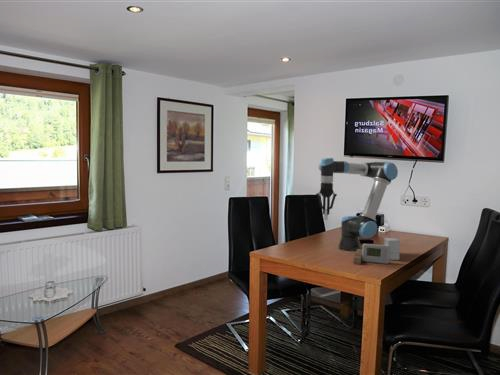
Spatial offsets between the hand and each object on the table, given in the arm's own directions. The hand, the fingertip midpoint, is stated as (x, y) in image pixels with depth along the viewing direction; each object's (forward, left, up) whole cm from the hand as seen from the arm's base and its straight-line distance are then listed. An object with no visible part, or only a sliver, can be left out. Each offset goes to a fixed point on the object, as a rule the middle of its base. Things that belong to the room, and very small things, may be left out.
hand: (325, 219), depth 250 cm
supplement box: (-13, +40, -25) cm, 49 cm away
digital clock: (0, +31, -25) cm, 39 cm away
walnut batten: (-3, +21, -24) cm, 32 cm away
